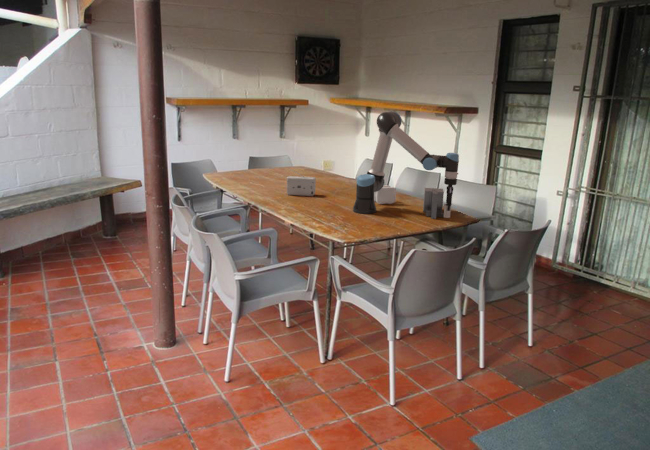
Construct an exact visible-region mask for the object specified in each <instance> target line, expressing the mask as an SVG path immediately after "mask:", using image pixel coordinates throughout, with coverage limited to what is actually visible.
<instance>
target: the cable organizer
mask: <svg viewBox="0 0 650 450" xmlns="http://www.w3.org/2000/svg"><path fill="white" fill-rule="evenodd" d="M396 195H397V188H396V187H393V186H390V185H388V184H384V186H383V187H382V188H381V189H380V190H379V191H377V192H374V202H375V203H377V204H379V205H385V204H388V205H391V204H394V203H396V198H397V196H396Z"/></svg>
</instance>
